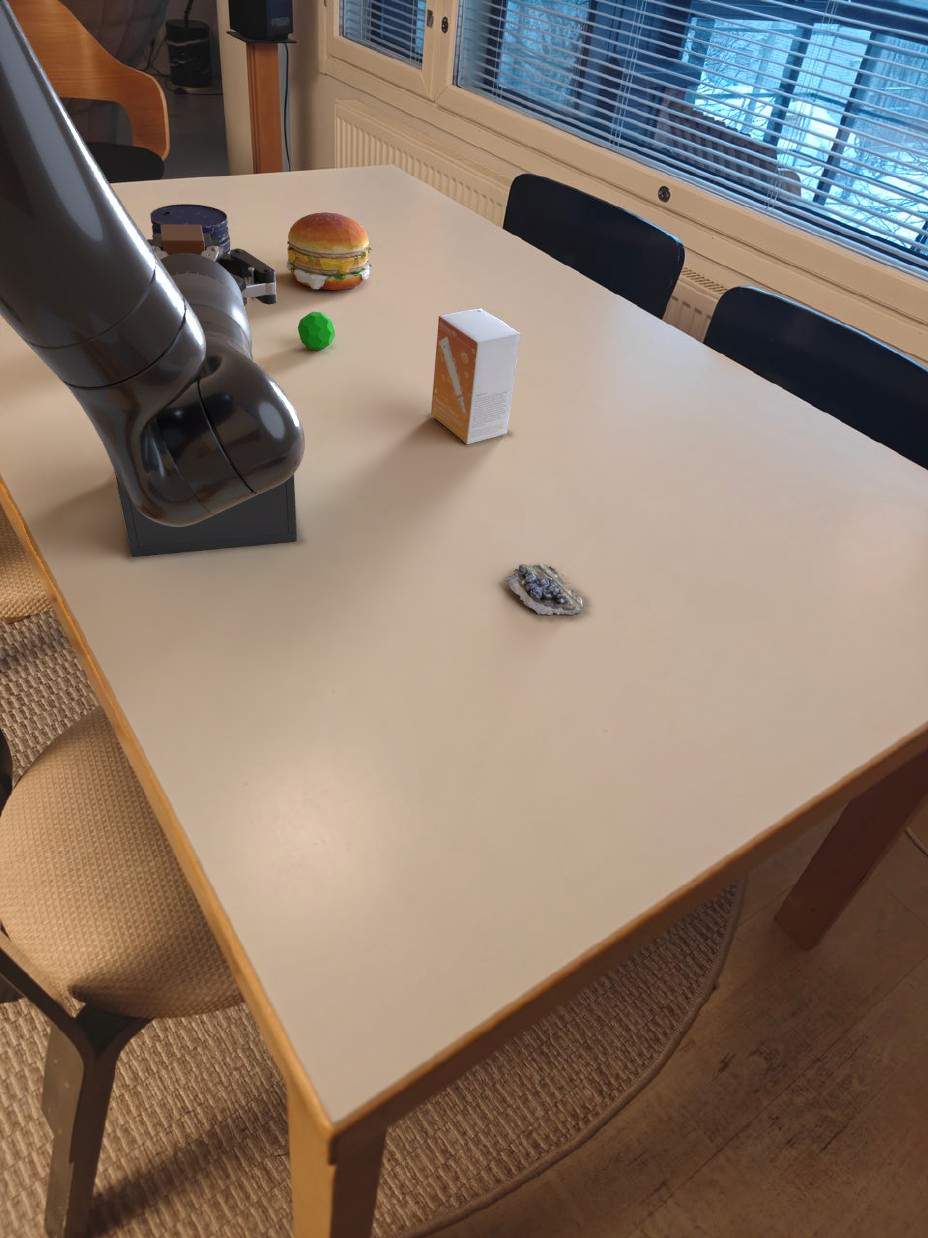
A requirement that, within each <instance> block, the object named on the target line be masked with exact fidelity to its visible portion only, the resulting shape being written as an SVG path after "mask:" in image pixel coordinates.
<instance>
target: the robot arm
mask: <svg viewBox="0 0 928 1238" xmlns="http://www.w3.org/2000/svg"><path fill="white" fill-rule="evenodd" d="M203 237H204V244H205V251H202V253H201V255H197V254H191V253H179V254H173V255H168V254H167V252H166V251H163V246H162V237H161V234H154V239H153V238H152V239H150V238H148V239H147V238H146V237H145V235H144V234H143V232H142V231H141V229H140V228H139V226H138V225H137V223H136V222H135V220H134V219H133V217H132V216H131V215H130V213H129V212H128V210H127V209H126V207H125V205H124V204H123V202H122V201H121V199H120V198H119V196H118V194H117V193H116V191H115V190H114V188H113V187H112V185H111V183H110V182H109V180H108V178H107V177H106V175H105V173H104V171H103V170H102V168H101V166H100V165H99V163H98V162H97V160H96V158H95V157H94V155H93V153H92V152H91V150H90V148H89V147H88V145H87V143H86V141H85V140H84V139H83V136H82V134H81V133H80V132H79V129H78V128H77V126H76V124H75V123H74V121H73V119H72V118H71V116H70V114H69V112H68V111H67V109H66V107H65V105H64V104H63V102H62V100H61V98H60V96H59V94H58V93H57V91H56V89H55V87H54V86H53V84H52V81H51V80H50V77H49V76H48V75H47V72H46V71H45V69H44V67H43V65H42V63H41V62H40V59H39V58H38V56H37V54H36V52H35V50H34V49H33V46H32V45H31V43H30V41H29V39H28V37H27V35H26V33H25V31H24V30H23V28H22V26H21V24H20V22H19V20H18V19H17V17H16V15H15V13H14V11H13V9H12V7H11V5H10V3H9V1H8V0H0V316H1V317H2V319H3V320H4V321H5V322H6V323H7V324H8V325H9V326H10V327H11V329H12V330H13V331H14V332H15V333H16V334H17V336H19V337H20V338H21V340H22V341H23V342H24V343H25V344H26V345H27V346H28V347H29V348H30V350H32V351H33V352H34V353H35V355H37V356H38V358H39V359H40V360H41V361H42V362H43V363H44V364H45V365H46V366H47V368H48V369H49V370H51V372H52V373H53V374H54V375H55V376H57V378H58V379H59V380H60V381H61V382H62V383H63V385H65V386H66V387H67V389H68V390H69V391H70V392H71V394H72V395H73V396H74V398H75V399H76V401H77V402H78V404H79V405H80V407H81V408H82V410H83V412H84V413H85V414H86V416H87V418H88V420H89V421H90V423H91V424H92V426H93V428H94V430H95V431H96V433H97V436H98V437H99V439H100V441H101V442H102V445H103V447H104V449H105V451H106V454H107V456H108V458H109V461H110V464H111V465H112V467H113V472H114V471H115V472H114V474H115V473H116V475H117V478H118V480H119V482H120V485H121V487H122V488H123V490H124V492H125V494H126V496H127V498H128V499H129V501H130V502H131V503H132V505H133V506H134V507H135V508H136V509H137V510H138V511H139V512H140V513H141V514H142V515H144V516H145V517H146V518H148V519H150V520H152V521H154V522H157V523H160V524H163V525H167V526H173V527H183V526H188V525H192V524H195V523H198V522H200V521H202V520H205V519H207V518H209V517H211V516H213V515H215V514H217V513H220V512H222V511H224V510H226V509H228V508H231V507H233V506H235V505H237V504H239V503H241V502H244V501H246V500H248V499H250V498H252V497H254V496H256V495H258V494H261V493H264V492H266V491H268V490H270V489H272V488H275V487H277V486H279V485H281V484H282V483H284V482H285V481H287V480H288V479H289V478H290V477H291V476H293V474H294V475H295V473H296V472H297V470H298V469H299V467H300V465H301V463H302V462H303V461H302V460H303V458H304V455H305V450H306V438H305V431H304V427H303V424H302V422H301V419H300V415H299V414H298V412H297V410H296V408H295V406H294V404H293V403H292V401H291V399H290V398H289V396H288V395H287V393H286V392H285V391H284V390H283V388H282V387H281V386H280V384H278V382H276V381H275V380H274V378H273V377H272V376H270V374H269V373H268V372H267V371H266V370H265V369H263V368H262V367H261V366H260V365H259V364H258V363H256V362H255V361H254V360H255V359H254V357H253V338H252V332H251V327H250V324H249V320H248V316H247V312H246V308H245V307H246V305H247V304H248V299H251V300H252V301H255V300H257V301H259V302H261V303H262V304H264V305H275V304H276V303H277V302H278V301H277V299H278V297H277V280H276V278H277V277H276V270H275V269H274V268H273V267H271V266H269V265H268V264H266V263H264V261H262V260H260V259H258V258H257V257H256V256H254V255H252V254H251V253H249V252H248V251H246V250H245V249H242V248H239V247H238V248H237V247H236V248H232V249H230V254H226V253H223V252H222V248H221V246H220V241H218V240H217V239H211V237H210V234H203Z"/></svg>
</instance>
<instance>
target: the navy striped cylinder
mask: <svg viewBox="0 0 928 1238" xmlns="http://www.w3.org/2000/svg"><path fill="white" fill-rule="evenodd" d="M149 217H150V224H151V230H152V235H151V236H152V237H151V238H152V239H154V234H161V224H189V225H201V227H202V232H203V234H210V237H211V239H217V240H218V241H220V246H221V248H222V252H223V253H226V254H230V251H231V236H230V233H229V227H228V224H229V222H228V214H227V213H226V212H225V211H223V210H221V209H219V208H217V207H213V206H209V205H202V204H194V203H193V204H192V203H181V204H179V203H178V204H170V205H164V206H160V207H157V208H155V209H153V210H152V211H151V212H150V215H149Z"/></svg>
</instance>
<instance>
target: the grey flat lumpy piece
mask: <svg viewBox="0 0 928 1238" xmlns="http://www.w3.org/2000/svg"><path fill="white" fill-rule="evenodd" d="M504 578H505V579H506V580H504V581H505V583H508V587H510V589H511V591H512V592H514V594H516V595H519V597H520V598H519V600H521V601H523V604H524V605H525V606H526V607H527V608H530V609H532V610H533V611H535V612H536V614H538V615H539V616H540V615H548V616H553V614H557V615H558V616H559V615H569V616H572V615H573V616H574V615H578V614H579V613H581V612H582V608H584V605H583V599H582V597H579V595H578V594H576V592H575V590H573V589H572V590H571V589H569V588H567V587H566V585H570V584H571V583H570V582H565V580H563V578H564V574H563V573H562V574H559V573H558V572H557V571H556V568H554V567H552V566H548V565H547V564H546V565H545V564H542V563H540V564H534V565H531V564H529V565H528V564H525V563H520V564H519V565H518V568H514V570H513V575H509V576H507V577H505V576H504Z"/></svg>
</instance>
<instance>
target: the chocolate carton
mask: <svg viewBox="0 0 928 1238" xmlns="http://www.w3.org/2000/svg"><path fill="white" fill-rule="evenodd" d="M161 237H162V246H163V251H166V252H167V254H168V255H173V254H179V253H191V254H197V255H201V253H202V251H205V244H204V237H203V232H202V227H201V225H189V224H161Z"/></svg>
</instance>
